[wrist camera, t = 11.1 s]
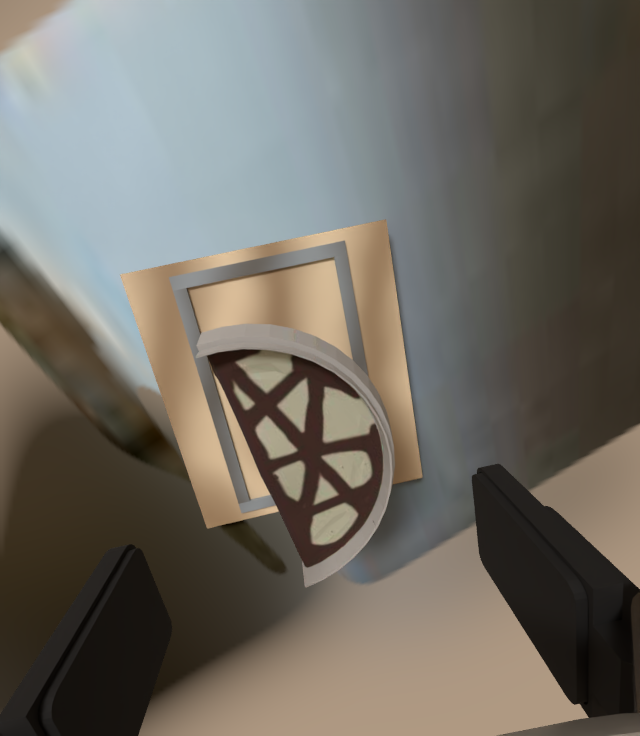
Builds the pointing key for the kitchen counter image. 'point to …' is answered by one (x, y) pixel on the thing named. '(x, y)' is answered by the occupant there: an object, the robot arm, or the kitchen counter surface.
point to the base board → (276, 307)
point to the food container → (308, 436)
